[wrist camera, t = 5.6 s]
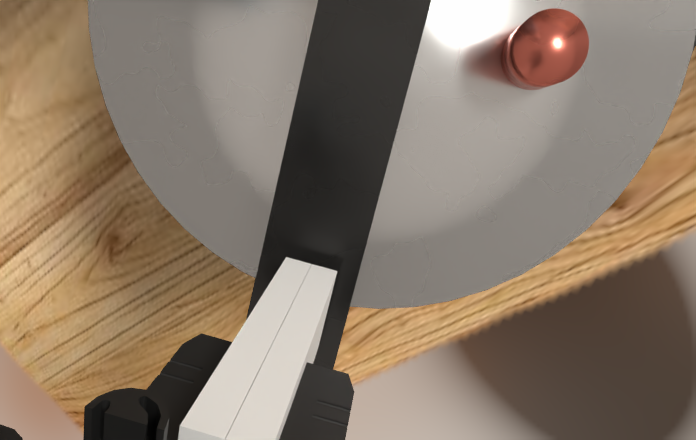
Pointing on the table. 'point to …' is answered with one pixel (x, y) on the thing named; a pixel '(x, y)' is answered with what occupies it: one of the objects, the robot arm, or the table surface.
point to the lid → (389, 130)
